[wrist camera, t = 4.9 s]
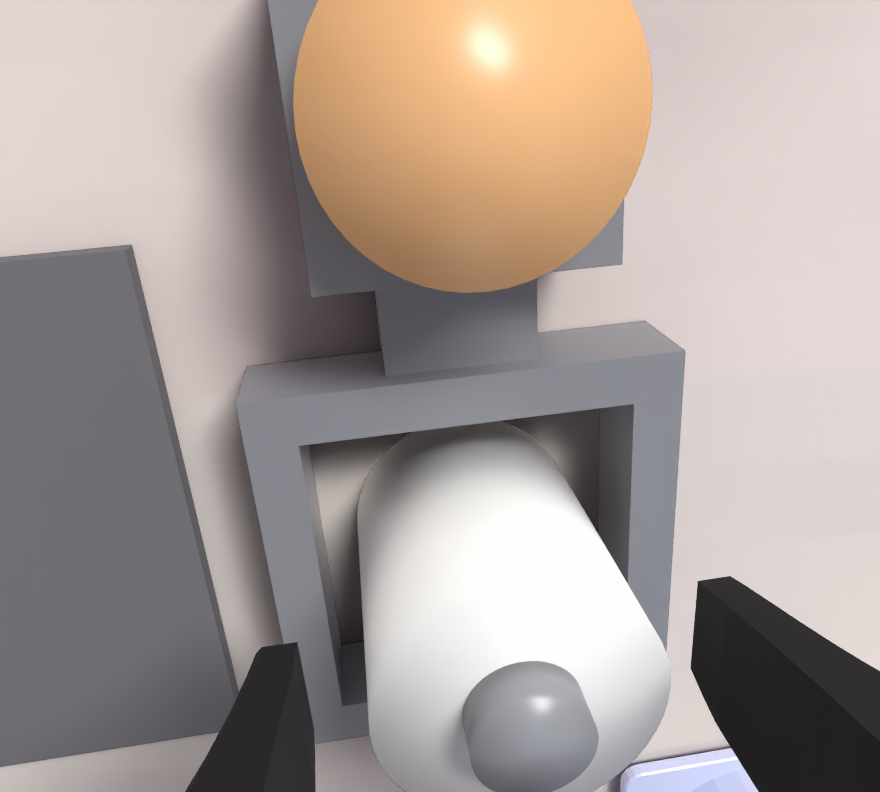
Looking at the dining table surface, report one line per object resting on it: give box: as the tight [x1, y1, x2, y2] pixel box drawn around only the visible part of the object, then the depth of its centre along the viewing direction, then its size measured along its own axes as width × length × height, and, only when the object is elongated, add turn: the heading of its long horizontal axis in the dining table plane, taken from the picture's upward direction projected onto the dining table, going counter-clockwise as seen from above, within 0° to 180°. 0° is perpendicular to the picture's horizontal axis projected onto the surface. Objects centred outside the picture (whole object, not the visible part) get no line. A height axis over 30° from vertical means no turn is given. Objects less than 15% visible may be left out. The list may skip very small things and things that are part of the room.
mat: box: [0, 245, 239, 767], centre depth 16 cm, size 12×8×1 cm, turn 4°
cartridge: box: [357, 421, 670, 792], centre depth 14 cm, size 5×5×7 cm
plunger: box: [293, 0, 652, 293], centre depth 11 cm, size 5×5×4 cm
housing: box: [235, 0, 685, 744], centre depth 15 cm, size 16×9×3 cm, turn 4°
